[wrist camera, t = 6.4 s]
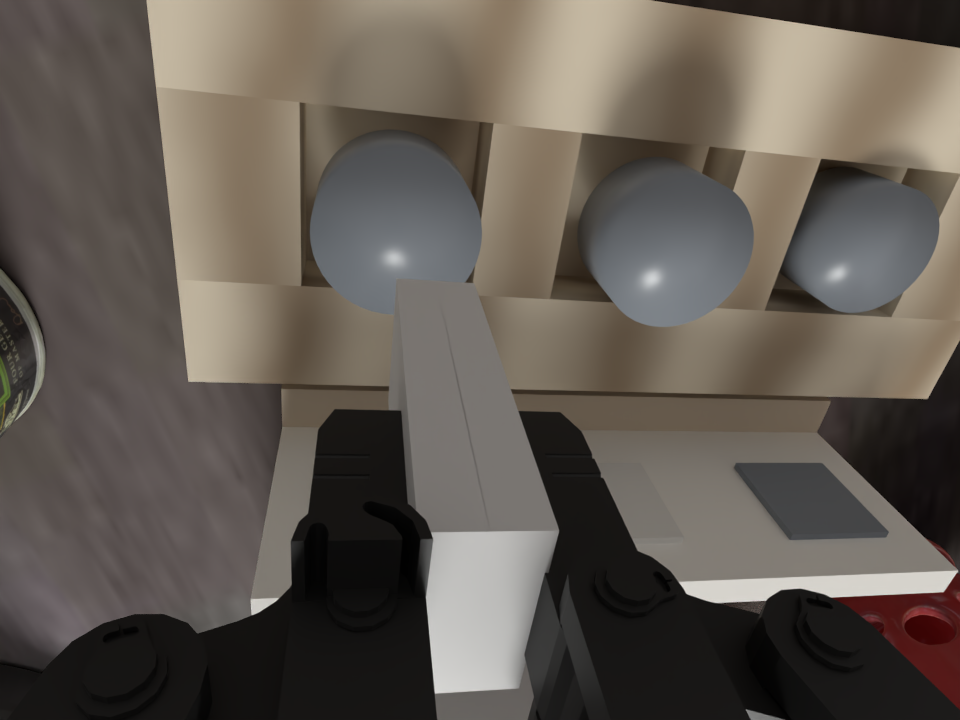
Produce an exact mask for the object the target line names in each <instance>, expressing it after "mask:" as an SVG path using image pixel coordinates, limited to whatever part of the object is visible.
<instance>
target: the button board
mask: <svg viewBox="0 0 960 720" xmlns="http://www.w3.org/2000/svg"><path fill="white" fill-rule="evenodd" d="M147 9H148V18H149V27H150V36H151V45H152V54H153V63H154V72H155V81H156V90H157V100H158V109H159V118H160V127H161V136H162V145H163V154H164V163H165V172H166V181H167V190H168V199H169V209H170V218H171V227H172V236H173V245H174V254H175V263H176V272H177V281H178V290H179V299H180V308H181V318H182V327H183V336H184V345H185V354H186V363H187V372H188V381H189V382H227V383H269V384H312V385H354V386H389V381H390V366H391V351H392V337H393V322H394V315H390V314H381V313H377V312H373V311H370V310H367V309H364V308H361V307H359V306H357V305H355V304H353V303H351V302H350V301H348V300H347V299H345V298H344V297H343V296H341V295H340V294H339V293H338V292H337V291H336V290H335V289H334V288H333V287H332V286H331V285H330V284H329V283H328V282H327V280H326V279H325V277H324V276H323V275H322V273H321V271H320V269H319V267H318V265H317V263H316V261H315V258H314V255H313V252H312V247H311V242H310V221H311V216H312V211H313V207H314V202H315V198H316V194H317V189H318V185H319V181H320V178H321V176H322V173H323V171H324V169H325V167H326V165H327V164H328V162H329V161H330V159H331V158H332V157H333V155H334V154H335V153H336V152H337V151H338V150H339V149H340V148H341V147H343V146H344V145H345V144H347V143H348V142H349V141H351V140H353V139H355V138H356V137H359V136H361V135H364V134H366V133H369V132H374V131H378V130H388V129H389V130H402V131H408V132H412V133H415V134H418V135H420V136H423V137H425V138H427V139H429V140H430V141H432V142H433V143H435V144H437V145H438V146H439V147H440V148H441V149H443V150H444V151H445V152H446V153H447V154H448V155H449V157H450V158H451V159H452V160H453V162H454V163H455V165H456V166H457V167H458V169H459V171H460V173H461V175H462V177H463V179H464V181H465V183H466V184H467V186H468V188H469V190H470V192H471V194H472V196H473V198H474V200H475V202H476V204H477V207H478V210H479V214H480V219H481V225H482V242H481V248H480V253H479V256H478V259H477V262H476V265H475V267H474V269H473V271H472V273H471V274H470V276H469V277H468V279H467V280H466V282H465V283H474V284H475V287H476V290H477V293H478V296H479V298H480V301H481V304H482V307H483V310H484V313H485V316H486V319H487V322H488V325H489V328H490V330H491V333H492V336H493V339H494V342H495V345H496V348H497V351H498V354H499V357H500V360H501V362H502V365H503V368H504V371H505V374H506V377H507V380H508V383H509V386H510V389H525V390H567V391H610V392H652V393H695V394H737V395H780V396H822V397H865V398H907V399H928V397H929V395H930V393H931V392H932V390H933V388H934V386H935V384H936V383H937V381H938V379H939V377H940V375H941V373H942V372H943V370H944V368H945V366H946V364H947V363H948V361H949V359H950V357H951V355H952V353H953V352H954V350H955V348H956V346H957V344H958V343H959V341H960V48H956V47H949V46H943V45H936V44H930V43H923V42H917V41H910V40H904V39H897V38H891V37H885V36H878V35H872V34H865V33H859V32H852V31H846V30H839V29H833V28H826V27H820V26H813V25H807V24H801V23H794V22H788V21H781V20H775V19H768V18H762V17H755V16H749V15H742V14H736V13H729V12H723V11H717V10H710V9H704V8H697V7H691V6H684V5H678V4H671V3H665V2H658V1H652V0H147ZM646 157H666V158H671V159H674V160H677V161H680V162H682V163H683V164H685V165H687V166H689V167H691V168H693V169H695V170H696V171H698V172H700V173H702V174H704V175H706V176H708V177H709V178H711V179H713V180H715V181H717V182H719V183H720V184H722V185H724V186H726V187H728V188H729V189H731V190H732V191H733V192H735V193H736V194H737V195H738V196H739V197H740V198H741V199H742V201H743V202H744V204H745V205H746V207H747V209H748V211H749V213H750V216H751V219H752V223H753V230H754V244H753V250H752V255H751V258H750V262H749V264H748V267H747V269H746V272H745V274H744V275H743V277H742V279H741V281H740V282H739V284H738V285H737V287H736V288H735V289H734V290H733V292H732V293H731V294H730V295H729V296H728V297H727V298H726V299H725V300H724V301H723V302H722V303H721V304H720V305H719V306H717V307H716V308H715V309H714V310H712V311H711V312H709V313H707V314H706V315H704V316H702V317H700V318H698V319H696V320H694V321H691V322H688V323H685V324H681V325H677V326H670V327H656V326H649V325H645V324H641V323H639V322H637V321H634V320H633V319H631V318H629V317H628V316H626V315H625V314H624V313H623V312H622V311H620V309H619V308H618V307H617V306H616V305H615V304H614V302H613V301H612V300H611V299H610V297H609V296H608V295H607V294H606V292H605V291H604V290H603V289H602V287H601V286H600V285H599V284H598V282H597V281H596V280H595V279H594V277H593V276H592V275H591V274H590V272H589V271H588V270H587V268H586V267H585V265H584V263H583V261H582V259H581V256H580V252H579V249H578V241H577V231H578V224H579V220H580V216H581V213H582V210H583V208H584V205H585V203H586V201H587V200H588V198H589V196H590V195H591V193H592V192H593V190H594V189H595V188H596V187H597V185H598V184H599V183H600V182H601V181H602V180H603V179H604V178H605V177H606V176H608V175H609V174H610V173H611V172H613V171H614V170H616V169H617V168H619V167H621V166H623V165H624V164H626V163H629V162H631V161H634V160H637V159H641V158H646ZM836 167H854V168H859V169H861V170H864V171H867V172H870V173H872V174H875V175H878V176H881V177H883V178H886V179H889V180H892V181H895V182H897V183H900V184H903V185H906V186H908V187H911V188H914V189H917V190H919V191H921V192H923V193H924V194H926V195H927V196H928V197H929V198H930V199H931V200H932V202H933V203H934V205H935V207H936V209H937V212H938V216H939V224H940V226H939V236H938V241H937V244H936V248H935V250H934V253H933V255H932V257H931V259H930V261H929V263H928V265H927V266H926V268H925V269H924V271H923V272H922V273H921V275H920V276H919V277H918V278H917V280H916V281H915V282H914V283H913V284H912V285H911V286H910V287H909V288H908V289H906V290H905V291H904V292H903V293H902V294H900V295H899V296H898V297H896V298H895V299H893V300H892V301H890V302H888V303H886V304H884V305H882V306H880V307H878V308H875V309H873V310H869V311H865V312H859V313H845V312H840V311H837V310H834V309H832V308H830V307H828V306H827V305H826V304H824V303H823V302H821V301H820V300H818V299H817V298H815V297H814V296H812V295H811V294H809V293H808V292H806V291H805V290H803V289H802V288H801V287H799V286H798V285H796V284H795V283H793V282H792V281H790V280H789V279H787V278H786V277H784V276H783V275H782V274H781V273H780V272H779V270H780V268H781V265H782V262H783V260H784V257H785V254H786V252H787V249H788V246H789V244H790V241H791V238H792V236H793V233H794V230H795V228H796V225H797V222H798V220H799V217H800V214H801V212H802V209H803V206H804V204H805V201H806V198H807V196H808V193H809V190H810V188H811V185H812V182H813V180H814V177H815V175H816V174H818V173H820V172H823V171H825V170H828V169H832V168H836Z"/></svg>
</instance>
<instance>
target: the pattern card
mask: <svg viewBox="0 0 960 720" xmlns="http://www.w3.org/2000/svg"><path fill="white" fill-rule="evenodd" d="M511 392H512V394H513V397H514V400H515V403H516V406H517V409H518V411H542V412H561V413H562V414H563V415H564V416H565V417H566V418H567V419H569V420H570V421H571V422H572V423H573V424H574V425H575V426H576V427H577V428H578V429H579V430H581V431H582V433H583V435H584V438H585V440H586V442H587V444H588V446H589V448H590V450H591V452H592V459H595V461H596V463H597V465H598V467H599V470H600V472H601V478H604V480H605V482H606V484H607V487H608V489H609V491H610V493H611V495H612V497H613V499H614V501H615V504H616V506H617V508H618V510H619V512H620V514H621V516H622V518H623V521H624V523H625V525H626V527H627V529H628V531H629V533H630V536H631V538H632V540H633V542H634V544H635V546H636V548H637V550H638V551H639V552H641V553H644V554H646V555H649V556H651V557H653V558H654V559H655V560H657V561H658V562H659V563H661V564H662V565H663V566H665V567H666V568H667V569H669V570H670V571H671V572H672V574H673V575H674V576H675V578H676V579H677V580H678V582H679V583H680V584H681V586H682V587H683V588H684V590H685V592H686V594H688V595H691V596H694V597H697V598H700V599H703V600H706V601H709V602H713V603H728V602H749V601H767V599H768V598H769V597H771V596H772V595H774V594H775V593H777V592H779V591H780V590H787V589H805V590H809V591H813V592H817V593H821V594H825V595H827V596H829V597H831V598H832V597H853V596H874V595H895V594H915V593H936V592H944V591H945V589H946V588H947V587H948V585H949V584H950V582H951V581H952V579H953V578H954V576H955V575H956V573H957V572H958V570H957V569H956V568H955V567H954V566H953V565H952V564H951V563H950V562H949V561H948V560H947V559H946V558H945V557H944V556H943V555H942V554H941V553H940V552H939V551H938V550H937V549H936V548H935V547H934V546H933V545H932V544H931V543H930V542H929V541H928V540H927V539H925V538H924V537H923V536H922V535H921V534H920V533H919V532H918V531H917V530H916V529H915V528H914V527H913V526H912V525H911V524H910V523H909V522H908V521H907V520H906V519H905V518H904V517H903V516H902V515H901V514H900V513H899V512H898V511H897V510H896V509H895V508H894V507H893V506H892V505H891V504H890V503H889V502H888V501H887V500H886V499H884V498H883V497H882V496H881V495H880V494H879V493H878V492H877V491H876V490H875V489H874V488H873V487H872V486H871V485H870V484H869V483H868V482H867V481H866V480H865V479H864V478H863V477H862V476H861V475H860V474H859V473H858V472H857V471H856V470H855V469H854V468H853V467H852V466H851V465H850V464H849V463H848V462H847V461H846V460H844V459H843V458H842V457H841V456H840V455H839V454H838V453H837V452H836V451H835V450H834V449H833V448H832V447H831V446H830V445H829V444H828V443H827V442H826V441H825V440H824V439H823V438H822V437H821V436H820V435H819V434H818V433H817V431H818V429H819V427H820V425H821V422H822V420H823V418H824V416H825V414H826V412H827V410H828V407H829V405H830V403H831V400H830V399H828V398H827V397H822V396H780V395H737V394H695V393H652V392H610V391H567V390H525V389H511ZM281 395H282V432H281V437H280V442H279V448H278V453H277V459H276V464H275V470H274V475H273V481H272V486H271V491H270V497H269V502H268V508H267V513H266V519H265V524H264V529H263V535H262V540H261V546H260V551H259V557H258V562H257V567H256V573H255V578H254V584H253V589H252V595H251V611H252V615H254V614H256V613H259V612H260V611H262V610H263V609H265V608H266V607H268V606H270V605H271V604H273V603H274V602H276V601H277V600H278V599H279V598H280V597H281V596H282V595H283V594H284V593H285V592H286V591H287V590H288V589H289V588H290V586H291V585H292V580H291V539H292V537H293V534H294V532H295V530H296V527H297V525H298V522H299V521H300V520H301V519H302V518H303V517H304V516H306V515H307V514H308V510H309V501H310V493H311V485H312V479H313V468H314V460H315V451H316V443H317V434H318V429H319V428H320V426H321V425H322V424H323V423H324V422H325V420H326V419H327V418H328V417H329V415H330V414H331V413H332V412H333V411H334V409H356V410H389V404H388V395H389V386H354V385H312V384H282V388H281Z"/></svg>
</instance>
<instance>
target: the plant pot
mask: <svg viewBox="0 0 960 720" xmlns="http://www.w3.org/2000/svg"><path fill="white" fill-rule="evenodd" d="M925 539H926V538H925ZM927 540H928V539H927ZM928 541H929V542H930V543H931V544H932V545H933V546H934V547H935V548H936V549H937V550H938V551H939V552H940V553H941V554H942V555H943V556H944V557H945V558H946V559H947V560H948V561H949V562H950V563H951V564H952V565H953V566H954V567H955V568H956V566H955V563H954V561H953V560H952V558H951V556H950V555H949V554H948V553H947V552H946V551H945V550H944V549H943V548H942V547H940V546H939V545H937V544H936V543H934V542H932V541H930V540H928ZM832 598H833V599H835V600H837V601H839V602H841V603H843V604H845V605H847V606H849V607H850V608H851V609H853V610H854V611H855V612H856V613H858V614H859V615H860V616H861V617H863V618H864V619H865V620H867V621H868V622H869V623H870V624H872V625H873V626H874V627H875V628H876V629H877V630H878V631H879V632H880V633H881V634H882V635H883V636H884V637H885V638H886V639H887V640H888V641H889V642H890V643H891V644H892V645H893V646H894V647H895V648H896V649H897V650H898V651H900V652H901V653H902V654H903V655H904V656H905V657H906V658H907V659H908V660H909V661H910V662H911V663H912V664H913V665H914V666H915V667H916V668H917V669H918V670H919V671H920V672H921V673H922V674H923V675H924V676H925V677H926V678H928V679H929V680H930V681H931V682H932V683H933V684H934V685H935V686H936V687H937V688H938V689H939V690H940V691H941V692H942V693H943V694H944V695H945V696H946V697H947V698H948V699H949V700H950V701H951V702H952V703H953V704H954V705H956V706H957V707H958V708H959V709H960V574H957V573H956V575H955V576H954V578H953V579H952V581H951V582H950V584H949V585H948V587H947V588H946V589H945V591H944V592H936V593H915V594H895V595H874V596H853V597H832Z"/></svg>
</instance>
